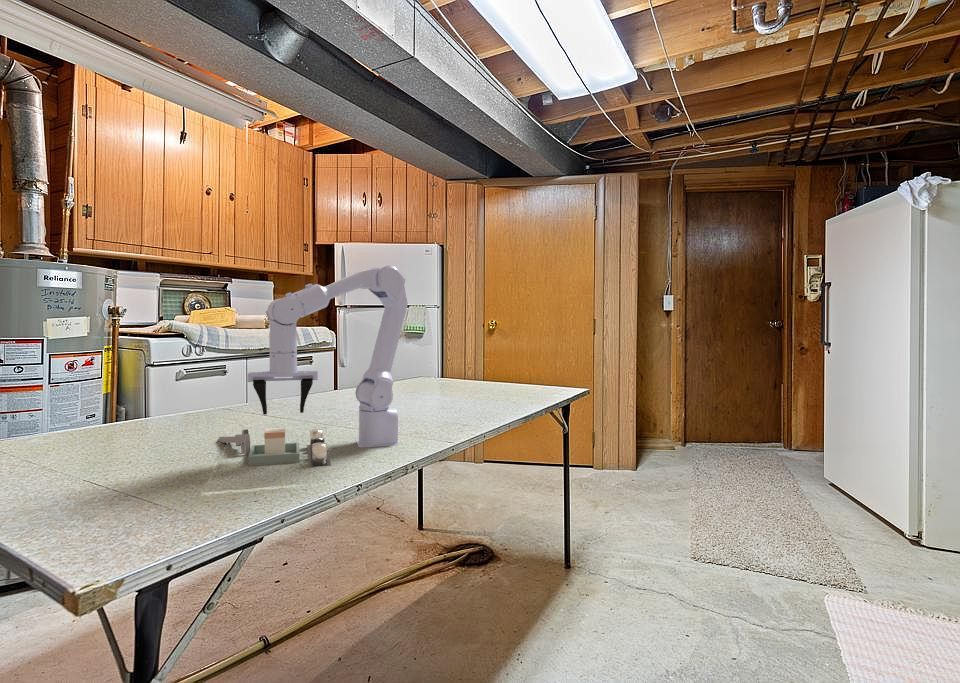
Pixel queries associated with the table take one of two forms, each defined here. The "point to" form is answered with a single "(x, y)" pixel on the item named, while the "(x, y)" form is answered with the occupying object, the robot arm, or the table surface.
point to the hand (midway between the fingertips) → (283, 412)
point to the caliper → (239, 441)
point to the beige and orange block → (274, 441)
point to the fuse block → (317, 449)
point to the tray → (260, 458)
